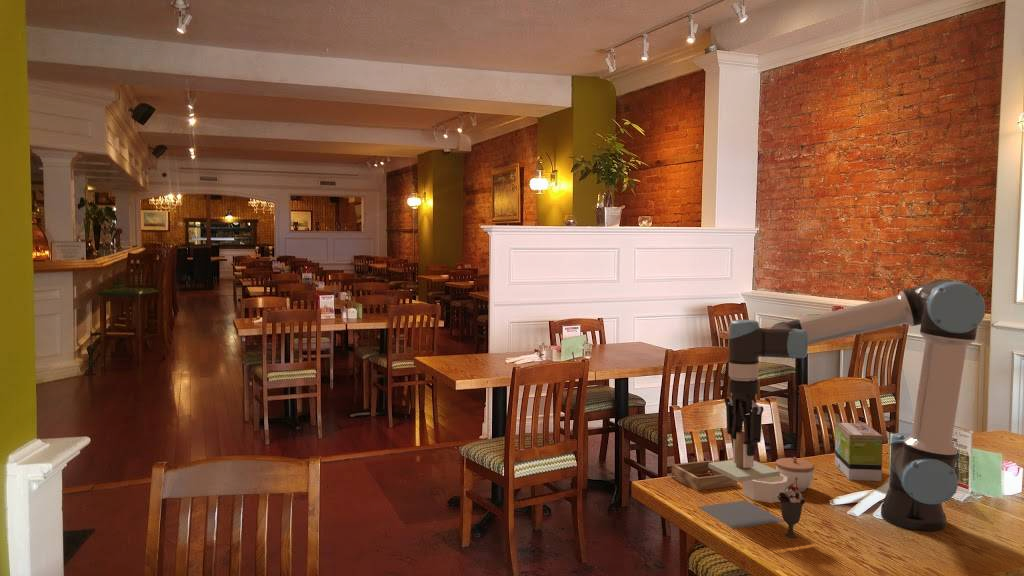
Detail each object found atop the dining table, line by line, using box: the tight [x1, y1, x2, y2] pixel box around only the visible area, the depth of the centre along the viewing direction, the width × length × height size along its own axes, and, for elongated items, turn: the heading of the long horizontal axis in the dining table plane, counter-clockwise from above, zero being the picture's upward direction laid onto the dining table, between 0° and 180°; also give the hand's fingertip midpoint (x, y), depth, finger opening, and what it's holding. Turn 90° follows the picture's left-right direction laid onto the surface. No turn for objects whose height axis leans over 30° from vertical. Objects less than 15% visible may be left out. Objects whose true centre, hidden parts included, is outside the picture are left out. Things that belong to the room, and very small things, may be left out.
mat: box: [697, 499, 785, 530], centre depth 193 cm, size 16×16×1 cm
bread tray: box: [671, 460, 738, 491], centre depth 220 cm, size 14×14×4 cm
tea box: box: [834, 422, 884, 482], centre depth 229 cm, size 15×10×15 cm, turn 172°
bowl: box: [742, 474, 788, 504], centre depth 208 cm, size 12×12×6 cm
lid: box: [708, 431, 780, 483], centre depth 192 cm, size 13×13×10 cm
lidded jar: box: [775, 456, 815, 493], centre depth 215 cm, size 11×11×9 cm
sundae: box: [778, 478, 807, 539], centre depth 179 cm, size 7×7×15 cm
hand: (743, 464), depth 192 cm, fingers closed on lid, 4 cm apart
